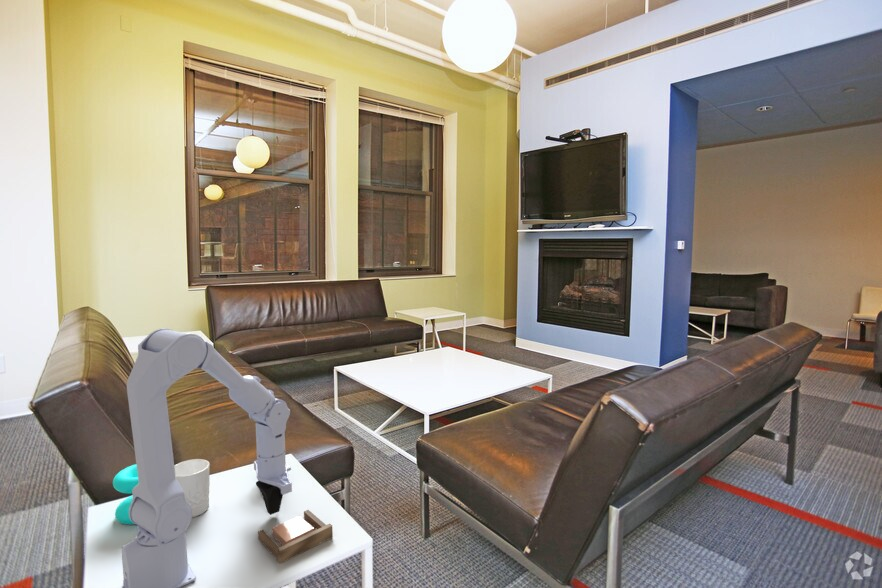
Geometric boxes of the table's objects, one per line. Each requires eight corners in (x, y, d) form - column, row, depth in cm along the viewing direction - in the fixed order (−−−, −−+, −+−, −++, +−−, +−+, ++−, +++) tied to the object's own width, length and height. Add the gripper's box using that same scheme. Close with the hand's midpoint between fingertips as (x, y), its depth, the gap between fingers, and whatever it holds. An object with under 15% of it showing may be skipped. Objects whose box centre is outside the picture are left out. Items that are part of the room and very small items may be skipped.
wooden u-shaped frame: (280, 563, 85) (279, 550, 85) (258, 538, 92) (257, 526, 92) (332, 537, 93) (332, 525, 92) (308, 516, 100) (307, 505, 99)
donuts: (171, 471, 99) (114, 487, 92) (173, 515, 100) (118, 533, 94) (163, 455, 106) (110, 468, 100) (165, 495, 108) (113, 511, 101)
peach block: (286, 551, 89) (286, 541, 89) (272, 537, 93) (272, 527, 93) (314, 537, 93) (313, 528, 93) (299, 524, 97) (299, 515, 97)
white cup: (169, 508, 103) (166, 465, 101) (207, 496, 107) (205, 455, 106) (174, 525, 96) (171, 480, 95) (215, 512, 101) (212, 469, 100)
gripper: (304, 457, 96) (306, 518, 97) (274, 436, 106) (276, 491, 107) (271, 468, 91) (274, 533, 92) (243, 445, 101) (246, 503, 103)
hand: (273, 511), depth 99 cm, fingers closed
